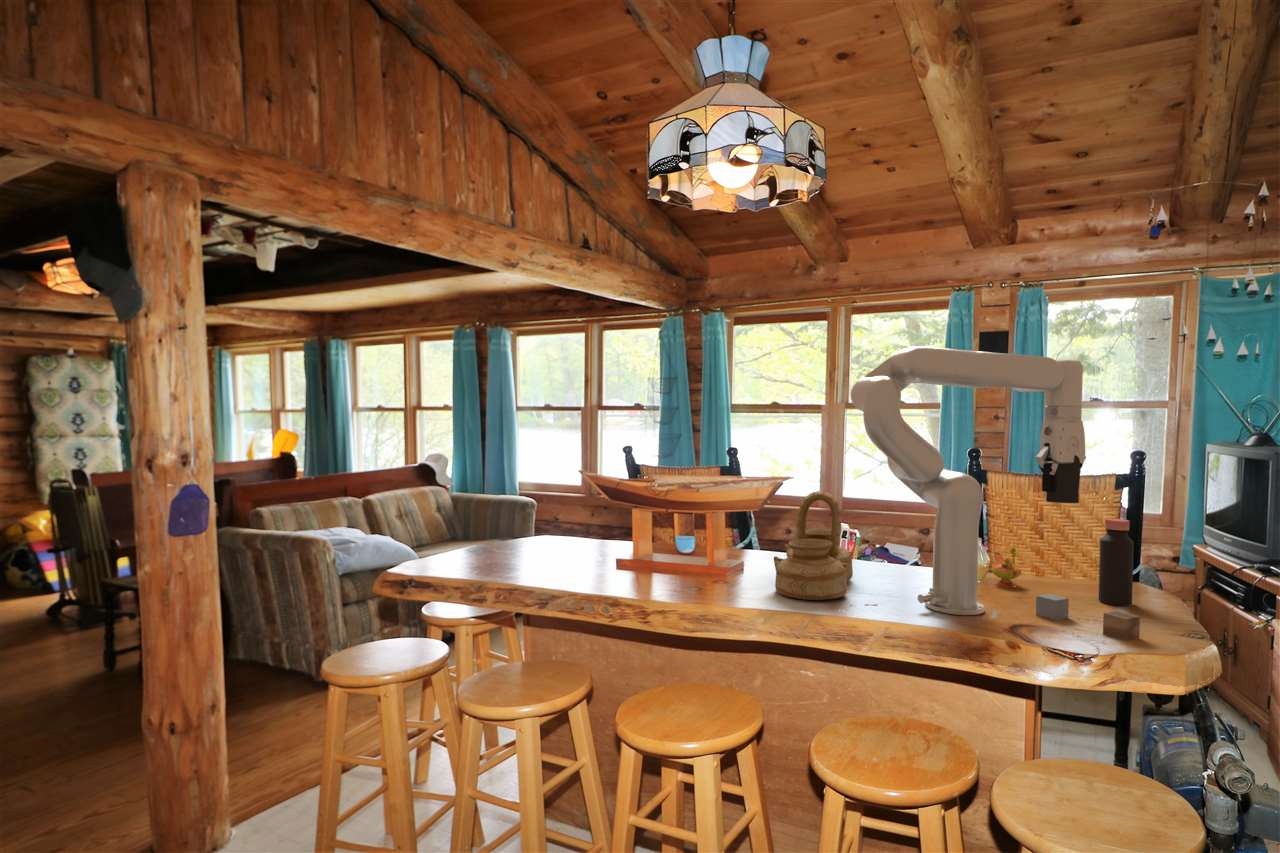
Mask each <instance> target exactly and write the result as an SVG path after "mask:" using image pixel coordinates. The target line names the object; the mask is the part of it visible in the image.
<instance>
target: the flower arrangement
mask: <svg viewBox="0 0 1280 853" xmlns="http://www.w3.org/2000/svg"><path fill="white" fill-rule="evenodd" d="M1016 550H1017V549H1016V548H1015V547H1013V548H1011V549H1010V550H1009V551H1010V553H1011V556H1012V561H1011V560H1010V559H1009V557H1006V558H1004V557H1003V555H1002V554H1001V552H996V551H995V552H992V553H993V558H994V559H993V560H994V564H993V566H992V567H991V572H992V573H993V575H995V577H997V578H1000V580H999V581H997V582H995V583H996V584H997V585H996V586H998V585H1000V586H999V587H1002V586H1008V587H1007V588H1015V587H1014V586H1016V587H1017V584H1016V583H1013V581H1012V580H1014V579H1016V578H1019V577H1020V575H1021V569H1019V568H1018V567H1016V562H1015V558H1016V555H1017V553H1016Z"/></svg>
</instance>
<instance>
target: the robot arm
mask: <svg viewBox="0 0 1280 853" xmlns="http://www.w3.org/2000/svg"><path fill="white" fill-rule="evenodd" d="M1083 369H1084V367H1083V364H1082V362H1080V361H1078V360H1075V359H1074V360H1072V359H1070V360H1069V359H1062V360H1060V359H1058V360H1056V359H1054V358H1051V357H1047V356H1041V355H1030V354H1020V353H1019V354H1018V353H1017V354H1016V353H1001V352H990V351H980V350H979V351H978V350H976V351H975V350H968V349H967V350H966V349H954V348H947V347H946V348H945V347H936V346H924V345H917V346H910V347H907V348H902V349H899V350H898V351H896V352H895V353H893V354H891V355H890V356H889V357H887V358H886V359H885V360H884V361H882V362H881V363H880V364H878V365H877V366H876V367H874V368H873V369H871V370H870V371H868V373H866V374H864V375H863V376H862V377H860V378H859V379H858V380H857V381H856V382H855V383H854V385H853V386H852V388H851V392H850V400H851V403H852V404H853V406H854V407H855V408H856V409H857V410H859V411H860V412H863V416H862V417H863V424H864V428H865V432H866V435H867V436H868V438H869V440H870V442H872V443H873V445H874V446H875V447H876V448H878V450H879V451H880V452H882V453H883V455H885V457H887V460H886V461H887V464H888V468H889V470H890V472H891V473H892V474H893V476H895V477H896V478H897V479H898V480H899V481H900V482H901V483H902V484H904V485H905V486H906V487H907V488H908V489H909V490H911V491H912V492H913V494H915V495H917V496H918V497H919V498H920V499H921V500H922V501H923V502H925V503H926V504H928V505H929V506H931V507H933V508H935V509H936V508H937V511H936V515H935V519H934V523H933V533H932V534H933V536H932V539H933V543H932V544H933V546H932V548H933V549H932V550H933V551H932V552H933V553H932V587H929V591H928V592H927V593H921V594H918V595H917V601H918V603H920V604H923V603H924V605H925V607H926V608H928V609H930V610H932V611H935V612H938V613H943V614H949V615H956V616H976V615H980V614H983V613H984V612H985V605H984V604H982V603H981V602H978V580H979V579H978V577H979V576H978V574H979V573H978V572H979V570H978V569H979V528H980V518H981V512H982V509H983V508H982V507H983V503H984V502H983V501H984V493H983V489H982V487H981V484H980V483H979V482H978V480H977V479H976V478H975V477H973V476H971V475H970V474H967V473H965V472H962V471H961V472H960V471H954V470H950V469H947V468H946V467H945V463H944V459H943V456H942V454H941V453H940V451H939V450H938V449H937V448H936V447H935V446H933V445H932V444H931V443H929V442H928V441H927V440H926V439H925V438H923V436H921V435H920V434H919V433H917V431H915V430H914V429H913V428H912V427H911V426H910V424H908V423H907V422H906V421H905V420H904V418H903V416H902V413H901V401H902V392H903V391H904V389H906V388H907V387H908V386H910V385H911V384H926V385H936V386H946V387H947V386H948V387H958V388H963V389H965V388H968V389H969V388H970V389H986V388H988V389H989V388H1009V389H1010V388H1011V389H1013V390H1014V391H1017V392H1022V393H1034V392H1044V396H1043V422H1042V427H1041V433H1040V441H1039V442H1040V443H1039V452H1038V454H1037V455H1036V456H1035V462H1036V463H1037V464H1038V468H1039V469H1040V474H1041V475H1042V478H1041V479H1042V481H1041V491H1042V492H1053V493H1054V492H1056V491H1057V475H1054V474H1055V472H1056V469H1057V466H1058V464H1059V463H1060V464H1071V463H1073V462H1074V456H1075V455H1077V456H1078V457H1079V459H1080V474H1081V473H1082V471H1081V470H1082V468H1083V466H1084V462H1085V461H1086V458H1087V456H1086V435H1085V427H1084V426H1085V425H1084V423H1083V420H1082V410H1083V409H1082V408H1083V406H1082V405H1083V376H1084V374H1083V373H1084V372H1083V371H1084V370H1083ZM1048 458H1050V459H1052V460H1053V461H1047V460H1048ZM1049 465H1052V466H1051V467H1050V466H1049Z"/></svg>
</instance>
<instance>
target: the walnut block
mask: <svg viewBox="0 0 1280 853" xmlns="http://www.w3.org/2000/svg"><path fill="white" fill-rule="evenodd" d="M1102 619H1103V623H1102V627H1103V628H1102V635H1104V636H1107V637H1110V638H1114V639H1117V640H1120V641H1124V642H1127V641H1131V640H1132V639H1133V640H1137V638H1138V639H1140V632H1141V631H1140V630H1141V627H1140V626H1141V616H1139V615H1136V614H1131V613H1127V612H1123V611H1119V610H1115V611H1114V610H1113V611H1108V612H1103V618H1102Z"/></svg>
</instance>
